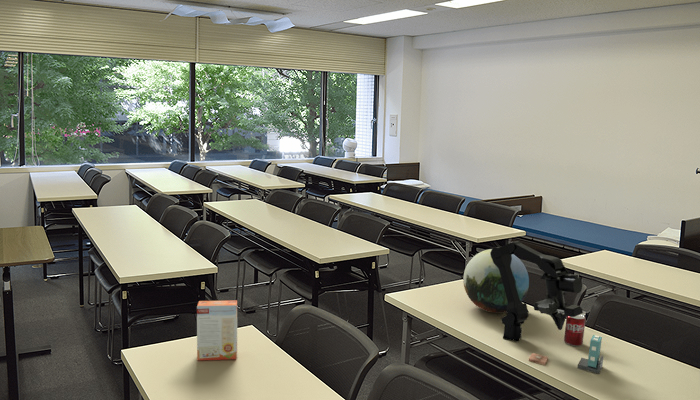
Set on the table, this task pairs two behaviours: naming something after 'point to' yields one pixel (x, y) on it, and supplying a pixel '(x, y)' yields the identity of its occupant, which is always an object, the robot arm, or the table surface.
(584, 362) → the key two base
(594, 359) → the key two
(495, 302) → the decorative globe
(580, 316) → the soda can
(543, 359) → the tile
